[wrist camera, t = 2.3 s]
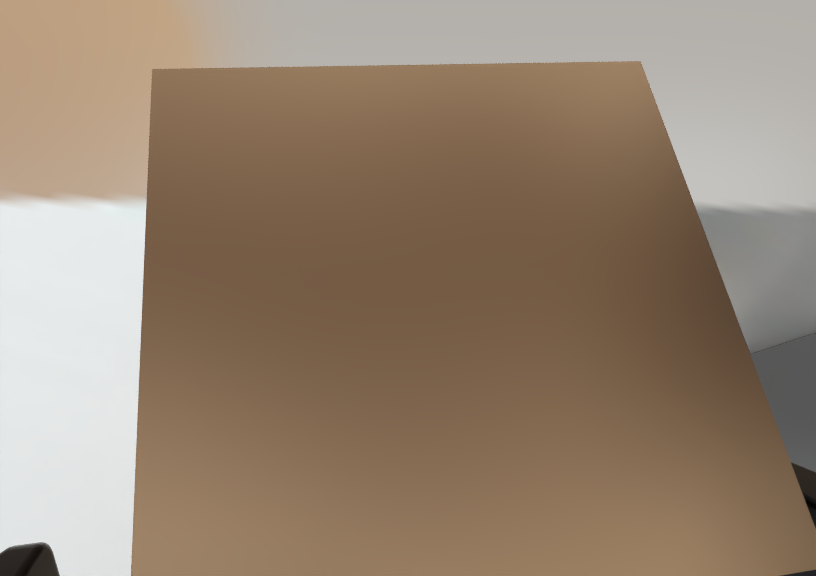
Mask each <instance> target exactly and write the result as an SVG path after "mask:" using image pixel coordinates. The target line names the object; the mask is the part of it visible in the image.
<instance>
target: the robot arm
mask: <svg viewBox="0 0 816 576" xmlns="http://www.w3.org/2000/svg"><path fill="white" fill-rule="evenodd" d="M791 464H792V467H793V470H794V472H795V475H796V478H797V480H798V483H799V486H800V488H801V491H802V494H803V496H804V499H805V502H806V504H807V507H808V510H809V512H810V515H811V518H812V520H813V523H814V526H815V528H816V472H814V471H812V470H809V469H807V468H804V467H802V466H799V465H797V464H794V463H792V462H791ZM0 576H60V575H59V572H58V568H57V565H56V562H55V558H54V555H53V552H52V549H51V548H50V546H49V545H48V544H46V543H42V542H40V543H32V544H25V545H17V546H13V547H9V548H7V549H6V550H4V551H3V552H2V553H0ZM781 576H816V570H810V571H804V572H798V573H793V574H787V575H781Z"/></svg>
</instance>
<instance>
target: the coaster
mask: <svg viewBox="0 0 816 576" xmlns="http://www.w3.org/2000/svg"><path fill="white" fill-rule="evenodd" d="M750 355H751V358H752V360H753V363H754V366H755V368H756V371H757V374H758V376H759V379H760V382H761V384H762V387H763V390H764V392H765V395H766V398H767V400H768V403H769V406H770V408H771V411H772V414H773V416H774V419H775V422H776V424H777V427H778V430H779V432H780V435H781V438H782V440H783V443H784V446H785V448H786V451H787V454H788V456H789V459H790V462H792V463H794V464H797V465H799V466H802V467H804V468H807V469H809V470H812V471H814V472H816V333H814V334H811V335H808V336H805V337H802V338H799V339H796V340H793V341H789V342H786V343H783V344H780V345H777V346H774V347H771V348H768V349H765V350H762V351H759V352H756V353H753V354H750Z"/></svg>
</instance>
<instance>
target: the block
mask: <svg viewBox="0 0 816 576" xmlns="http://www.w3.org/2000/svg"><path fill="white" fill-rule="evenodd" d="M149 137H150V138H149V161H148V184H147V186H148V187H147V208H146V232H145V256H144V279H143V303H142V327H141V351H140V375H139V399H138V422H137V446H136V470H135V494H134V518H133V542H132V565H131V576H781V575H787V574H793V573H798V572H804V571H810V570H816V528H815V526H814V523H813V520H812V518H811V515H810V512H809V510H808V507H807V504H806V502H805V499H804V496H803V494H802V491H801V488H800V486H799V483H798V480H797V478H796V475H795V472H794V470H793V467H792V464H791V462H790V459H789V456H788V454H787V451H786V448H785V446H784V443H783V440H782V438H781V435H780V432H779V430H778V427H777V424H776V422H775V419H774V416H773V414H772V411H771V408H770V406H769V403H768V400H767V398H766V395H765V392H764V390H763V387H762V384H761V382H760V379H759V376H758V374H757V371H756V368H755V366H754V363H753V360H752V358H751V355H750V352H749V350H748V347H747V344H746V342H745V339H744V336H743V334H742V331H741V328H740V326H739V323H738V320H737V318H736V315H735V312H734V310H733V307H732V304H731V302H730V299H729V296H728V294H727V291H726V288H725V286H724V283H723V280H722V278H721V275H720V272H719V270H718V267H717V264H716V262H715V259H714V256H713V254H712V251H711V248H710V246H709V243H708V240H707V238H706V235H705V232H704V230H703V227H702V224H701V222H700V219H699V216H698V214H697V211H696V208H695V206H694V203H693V200H692V198H691V195H690V192H689V190H688V187H687V184H686V182H685V179H684V176H683V174H682V171H681V169H680V166H679V163H678V160H677V158H676V155H675V152H674V150H673V147H672V144H671V142H670V139H669V136H668V134H667V131H666V128H665V126H664V123H663V120H662V118H661V115H660V112H659V110H658V107H657V104H656V102H655V99H654V96H653V94H652V91H651V88H650V86H649V83H648V80H647V78H646V75H645V72H644V70H643V67H642V64H641V62H640V61H635V62H634V61H633V62H632V61H631V62H576V63H575V62H571V63H570V62H569V63H509V64H508V63H506V64H449V65H447V64H444V65H385V66H384V65H382V66H326V67H325V66H323V67H321V66H320V67H266V68H265V67H260V68H201V69H200V68H195V69H153V70H152V90H151V114H150V136H149Z"/></svg>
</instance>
